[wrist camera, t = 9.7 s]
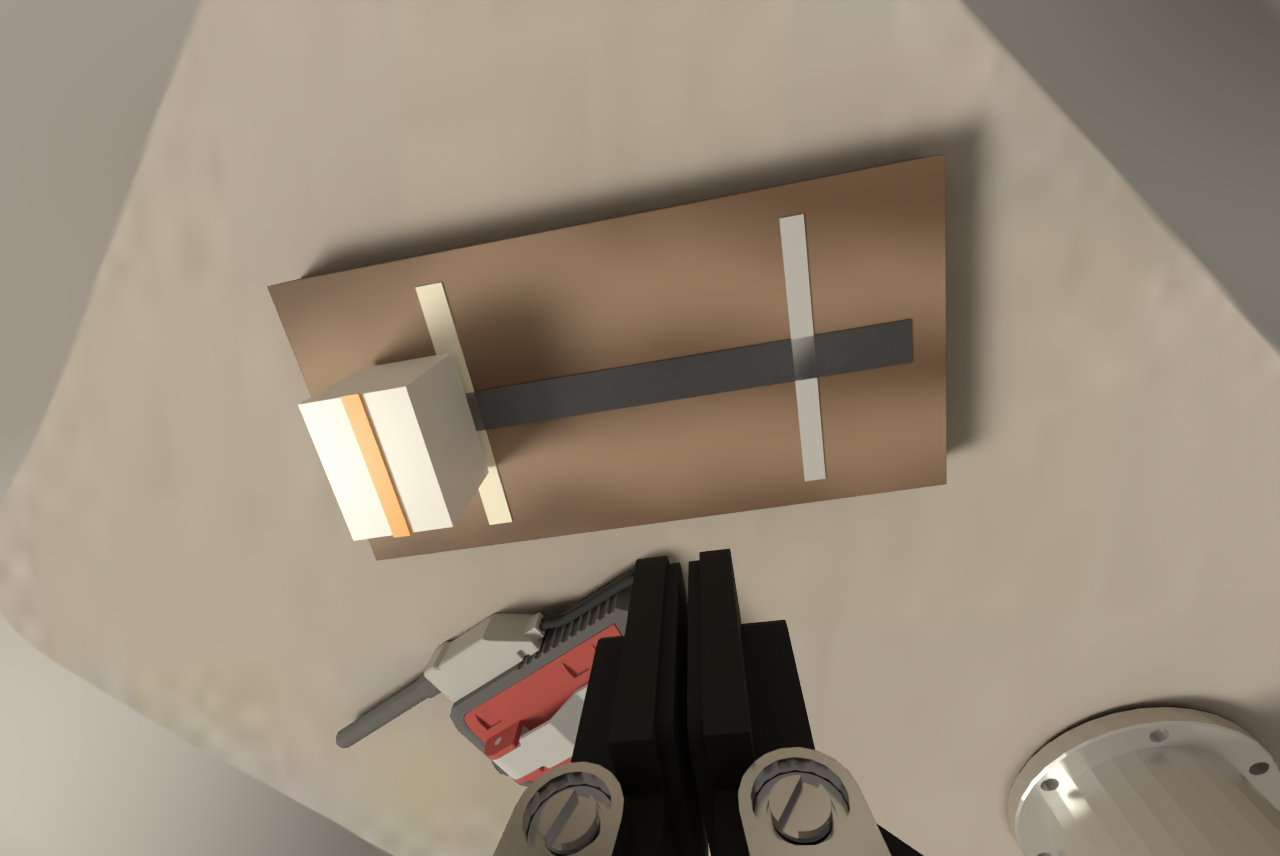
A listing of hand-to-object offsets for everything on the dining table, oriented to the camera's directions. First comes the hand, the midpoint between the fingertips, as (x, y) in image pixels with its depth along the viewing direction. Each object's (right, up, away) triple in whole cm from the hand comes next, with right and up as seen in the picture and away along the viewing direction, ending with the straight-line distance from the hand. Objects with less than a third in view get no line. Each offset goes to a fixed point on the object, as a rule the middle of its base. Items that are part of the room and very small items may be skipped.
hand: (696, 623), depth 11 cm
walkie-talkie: (-7, -9, +21) cm, 24 cm away
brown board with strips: (-2, +6, +14) cm, 15 cm away
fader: (-9, +4, +13) cm, 16 cm away
